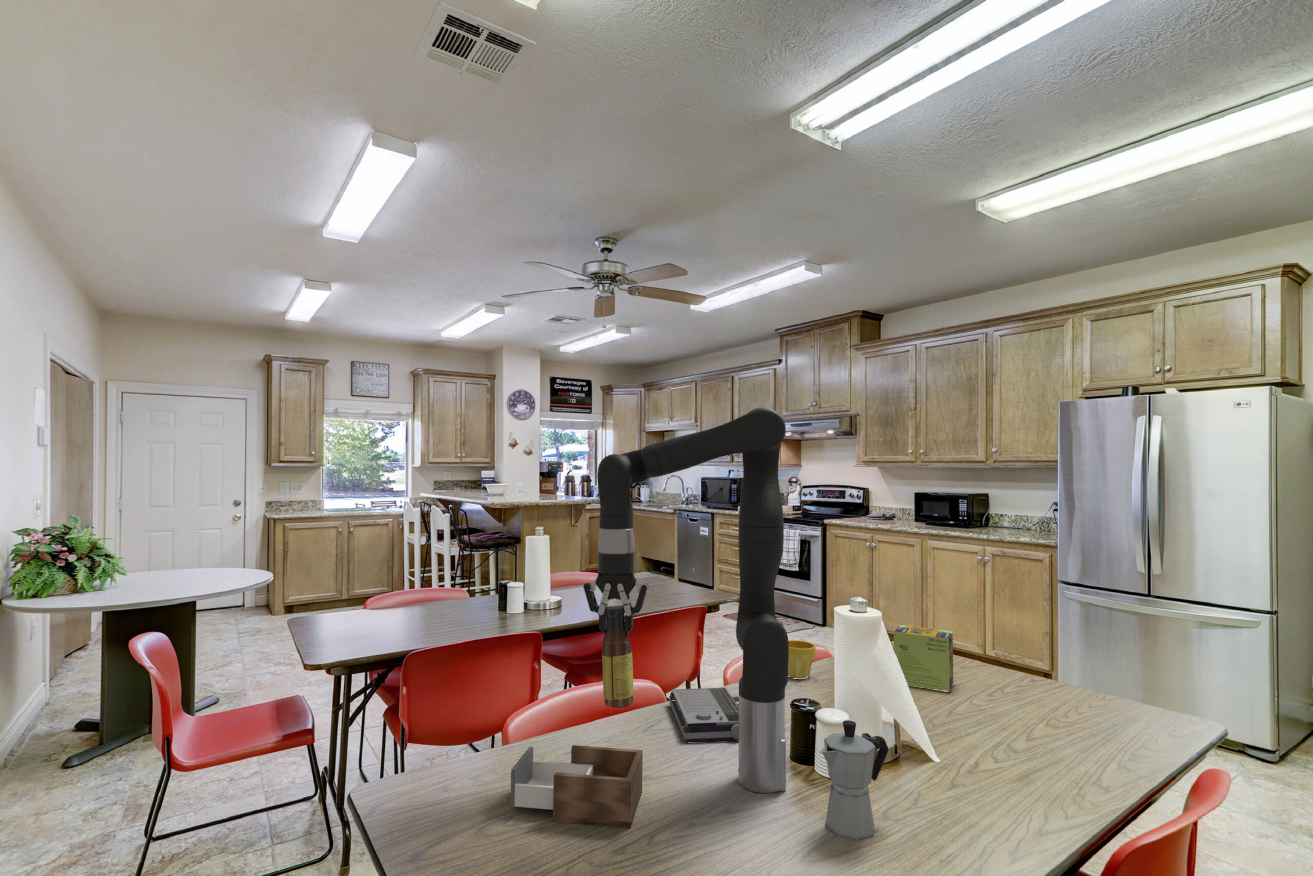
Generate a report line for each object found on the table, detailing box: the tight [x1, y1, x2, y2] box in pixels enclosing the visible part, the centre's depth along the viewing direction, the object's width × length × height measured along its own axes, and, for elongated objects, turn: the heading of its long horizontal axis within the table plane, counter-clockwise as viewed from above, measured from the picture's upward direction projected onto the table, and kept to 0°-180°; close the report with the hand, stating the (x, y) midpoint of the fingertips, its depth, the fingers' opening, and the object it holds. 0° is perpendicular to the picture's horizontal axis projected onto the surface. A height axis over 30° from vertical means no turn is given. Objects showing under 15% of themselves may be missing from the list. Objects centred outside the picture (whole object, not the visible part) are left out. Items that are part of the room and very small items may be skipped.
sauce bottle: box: [601, 604, 635, 709], centre depth 133 cm, size 7×6×20 cm
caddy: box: [552, 744, 644, 829], centre depth 119 cm, size 14×13×8 cm
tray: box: [509, 746, 594, 811], centre depth 120 cm, size 13×10×6 cm
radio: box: [668, 687, 739, 744], centre depth 160 cm, size 24×5×20 cm
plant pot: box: [788, 639, 816, 679], centre depth 196 cm, size 10×10×10 cm
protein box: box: [893, 624, 955, 692], centre depth 190 cm, size 10×15×16 cm
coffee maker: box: [819, 719, 890, 841], centre depth 114 cm, size 15×9×18 cm, turn 114°
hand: (615, 632), depth 133 cm, fingers closed on sauce bottle, 4 cm apart
